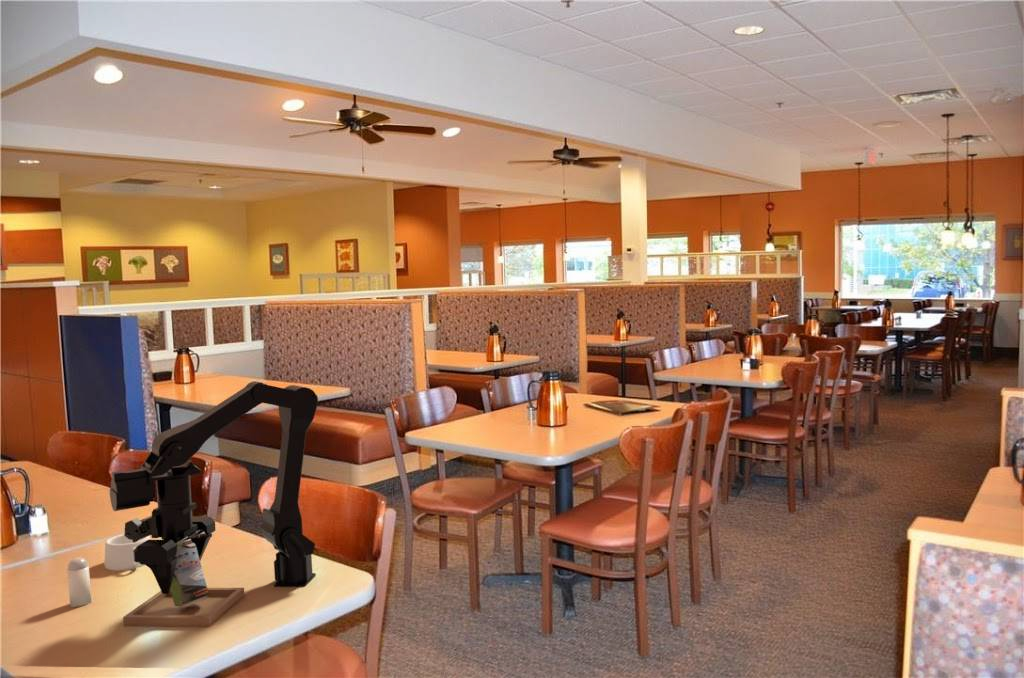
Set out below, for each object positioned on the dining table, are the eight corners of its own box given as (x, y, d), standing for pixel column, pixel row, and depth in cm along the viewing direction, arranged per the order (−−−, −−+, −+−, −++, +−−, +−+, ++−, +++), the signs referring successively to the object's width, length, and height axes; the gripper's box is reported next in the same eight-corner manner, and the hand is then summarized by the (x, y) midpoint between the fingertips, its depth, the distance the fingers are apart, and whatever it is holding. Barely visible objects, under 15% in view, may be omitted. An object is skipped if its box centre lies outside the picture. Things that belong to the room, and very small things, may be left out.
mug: (99, 566, 176) (97, 539, 176) (146, 555, 183) (144, 529, 182) (114, 579, 167) (112, 551, 167) (163, 567, 173) (161, 540, 173)
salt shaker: (95, 599, 156) (92, 554, 156) (83, 607, 153) (80, 561, 152) (78, 599, 157) (74, 554, 156) (65, 606, 153) (62, 561, 152)
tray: (244, 595, 155) (244, 587, 155) (209, 626, 141) (208, 617, 141) (165, 595, 157) (165, 587, 157) (123, 625, 143) (123, 617, 143)
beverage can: (197, 608, 145) (188, 541, 146) (161, 613, 146) (152, 547, 147) (217, 598, 151) (207, 534, 152) (182, 603, 153) (173, 540, 154)
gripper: (160, 488, 158) (164, 566, 159) (102, 515, 139) (107, 603, 140) (214, 488, 157) (218, 566, 158) (163, 515, 138) (168, 604, 139)
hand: (179, 584), depth 149 cm, fingers open, 9 cm apart
